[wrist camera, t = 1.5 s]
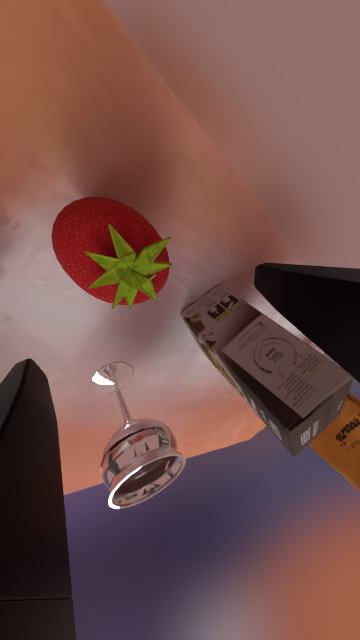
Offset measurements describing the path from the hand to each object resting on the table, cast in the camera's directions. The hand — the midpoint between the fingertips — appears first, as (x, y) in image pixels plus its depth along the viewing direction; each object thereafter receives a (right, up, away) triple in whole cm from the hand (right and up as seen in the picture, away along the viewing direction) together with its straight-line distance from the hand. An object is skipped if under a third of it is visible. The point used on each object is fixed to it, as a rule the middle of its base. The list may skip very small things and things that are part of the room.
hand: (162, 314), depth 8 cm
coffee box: (+5, 0, +22) cm, 22 cm away
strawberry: (-6, +7, +10) cm, 13 cm away
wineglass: (-7, -7, +19) cm, 21 cm away
